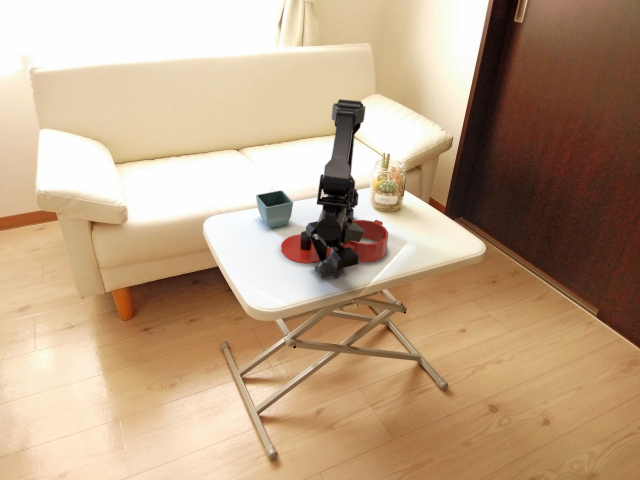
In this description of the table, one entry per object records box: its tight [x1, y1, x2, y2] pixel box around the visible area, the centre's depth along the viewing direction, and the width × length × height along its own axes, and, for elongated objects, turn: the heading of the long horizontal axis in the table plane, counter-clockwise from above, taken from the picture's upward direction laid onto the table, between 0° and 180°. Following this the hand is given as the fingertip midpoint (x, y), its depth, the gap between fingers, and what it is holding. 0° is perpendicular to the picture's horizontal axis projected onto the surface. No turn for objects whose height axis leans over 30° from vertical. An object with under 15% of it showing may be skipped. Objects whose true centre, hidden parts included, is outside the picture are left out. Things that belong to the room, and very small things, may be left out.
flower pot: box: [255, 189, 294, 229], centre depth 138 cm, size 9×9×9 cm
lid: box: [280, 230, 332, 264], centre depth 128 cm, size 14×14×6 cm
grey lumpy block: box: [314, 258, 345, 279], centre depth 120 cm, size 7×4×4 cm, turn 117°
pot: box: [341, 219, 389, 264], centre depth 129 cm, size 13×19×6 cm
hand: (329, 269), depth 120 cm, fingers open, 7 cm apart
